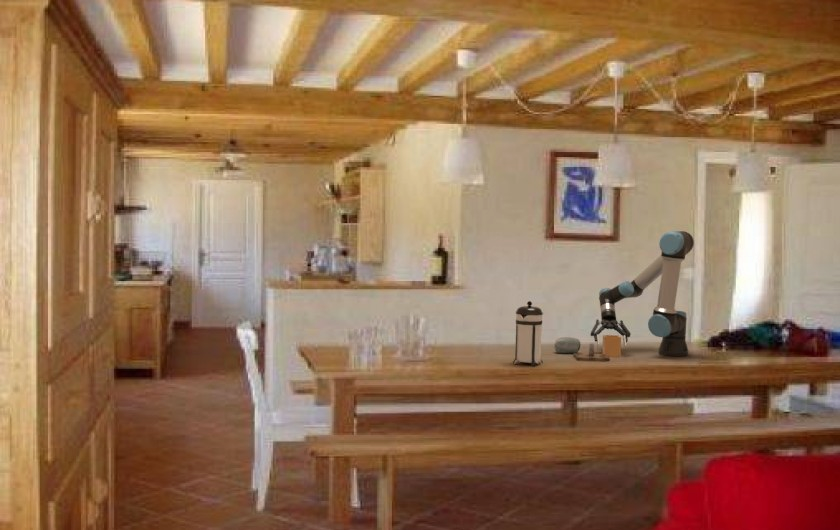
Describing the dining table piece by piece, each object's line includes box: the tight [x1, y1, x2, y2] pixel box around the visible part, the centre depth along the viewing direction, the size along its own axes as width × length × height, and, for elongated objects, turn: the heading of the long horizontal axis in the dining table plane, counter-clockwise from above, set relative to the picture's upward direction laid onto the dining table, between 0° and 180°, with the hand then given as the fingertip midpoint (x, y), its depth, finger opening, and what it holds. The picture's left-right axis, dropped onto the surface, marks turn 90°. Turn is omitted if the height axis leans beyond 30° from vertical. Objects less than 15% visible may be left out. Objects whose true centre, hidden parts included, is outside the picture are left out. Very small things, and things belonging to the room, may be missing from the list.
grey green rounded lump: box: [553, 336, 581, 354], centre depth 465 cm, size 14×10×10 cm
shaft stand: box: [573, 343, 611, 362], centre depth 447 cm, size 16×14×8 cm
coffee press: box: [512, 300, 544, 367], centre depth 427 cm, size 17×16×30 cm
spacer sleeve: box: [601, 334, 622, 358], centre depth 460 cm, size 8×8×10 cm
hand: (611, 346), depth 458 cm, fingers open, 13 cm apart
